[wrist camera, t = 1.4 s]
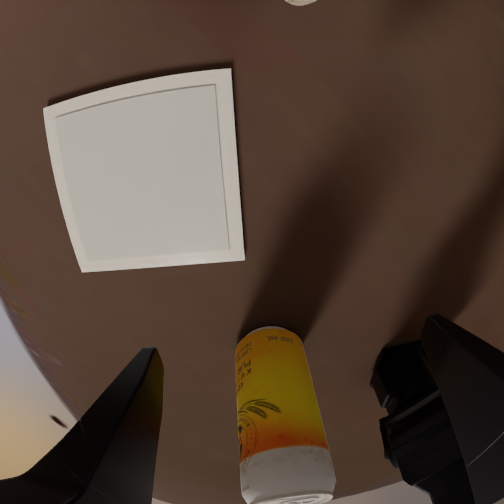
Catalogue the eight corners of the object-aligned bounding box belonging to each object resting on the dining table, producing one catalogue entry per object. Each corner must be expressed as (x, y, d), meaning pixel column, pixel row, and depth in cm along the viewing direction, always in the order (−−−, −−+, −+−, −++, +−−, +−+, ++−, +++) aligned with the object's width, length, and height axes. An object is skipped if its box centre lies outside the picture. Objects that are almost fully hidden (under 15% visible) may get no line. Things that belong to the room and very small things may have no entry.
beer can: (230, 325, 25) (236, 500, 12) (302, 317, 25) (347, 484, 12) (238, 369, 28) (247, 516, 15) (300, 362, 28) (332, 505, 15)
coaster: (230, 68, 16) (230, 68, 15) (244, 256, 22) (244, 260, 22) (46, 107, 16) (42, 108, 15) (84, 269, 22) (81, 273, 21)
